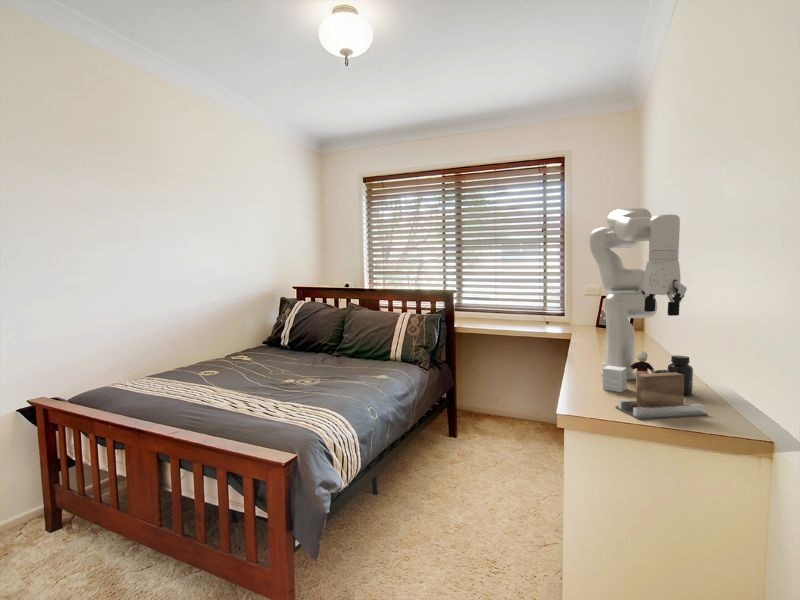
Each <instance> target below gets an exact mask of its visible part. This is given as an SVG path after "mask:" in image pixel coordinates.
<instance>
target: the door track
mask: <svg viewBox="0 0 800 600" xmlns="http://www.w3.org/2000/svg"><path fill="white" fill-rule="evenodd" d="M686 399H687V398H686V397H684V405H669V406H651V407H636V406H637V399H625V400H618V405H615V409H618V410H619V411H621V412H624V413H626V414H627V415H629V416H632V417H633V418H635V419H637V420H640V421H641V420H643V421H644V420H658V419H675V418H690V417H706V416H708V413H706V412H704V410H705V409H704V407H705V405H704V404H702V403H692V404H691V403H689V404H686Z"/></svg>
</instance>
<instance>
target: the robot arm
mask: <svg viewBox="0 0 800 600" xmlns="http://www.w3.org/2000/svg"><path fill="white" fill-rule="evenodd" d="M606 224H607V227H606V226H603V227H599V228H596V229H593V231H591V233H590V235H589V241H588V243H589V249H590V253H591V254H592V257H593V258H594V260H595V263H596V264H597V266H598V269H599V274H600V278H601V279H600V280H601V283H602V286H603V288H604V291H606V292H607V293H609V294H608V295H606V296H605V298H604V300H603V310H604V315H605V325H606V326H605V328H606V329H605V333H606V335H605V336H606V337H605V339H606V340H605V343H606V344H605V361H604V362H602V365H601V366H603V367H606V366H608V365H609V366H617V367H625V368H627V381H628V380H629V381H630V380H636V371H635V369H633V370H632V372H629V369H630V366H631V365H632V364H634V363H635V355H636V354H635V348H636V347H635V344H636V343H635V339H636V332H635V327H634V326H633V324H632V323H631V322H630V321H629V319H645V318H646V319H647V318H648V319H649V318H653V317H654V316H655V315H656V314H657V312H658V302H657V299H656V296H657V295H658V296H665V295H666V297H667V298H668V300H669V301H668V302H667V316H669V317H671V316H674V317H676V316H679V315H680V303H681V302H682V301H683V299H684V297H685V294H686V291H687V289H688V288H687V287H686V286H685V285H683V284H682V283H681V266H680V262H679V255H680V254H679V253H680V252H679V249H680V232H681V231H680V228H681V218H680V216H679V215H677V214H660V215H654V216H652V213H651V212H650V211H649V210H648V209H647V208H644V207H643V208H642V207H639V208H638V207H637V208H617V209H615V210H613V211H612V212H610V213H609V214H608V216H607V218H606ZM640 242H649V243H648V261H647V262H646V264H645V270H644V269H640V268H625V267H624V263H623V260H622V259H621V257H620V256H619V255H618V254H617V253H616V252H614V251H613V250H612V249H631V248H634V247H636V246H637V245H638V244H640ZM600 372H601V373H600V374H601V375H602V376H603V369H602V370H601V371H600Z"/></svg>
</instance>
